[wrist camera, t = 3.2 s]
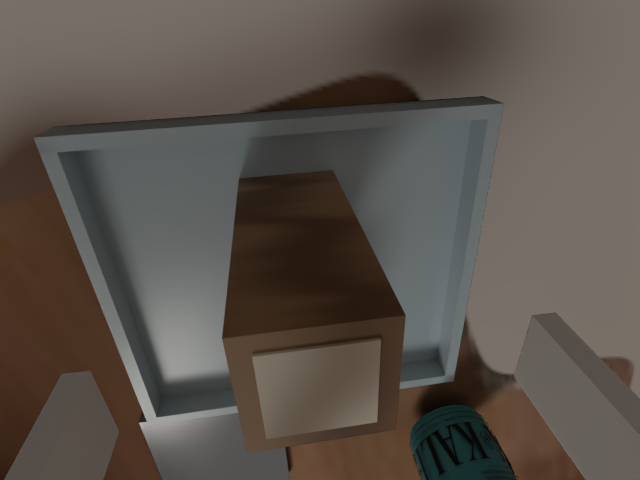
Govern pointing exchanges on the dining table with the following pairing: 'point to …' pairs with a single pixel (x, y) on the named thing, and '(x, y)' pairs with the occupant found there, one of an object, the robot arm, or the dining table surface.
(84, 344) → the dining table surface
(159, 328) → the bin
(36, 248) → the dining table surface
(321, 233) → the walnut box
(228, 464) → the slate coaster
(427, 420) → the beverage bottle
